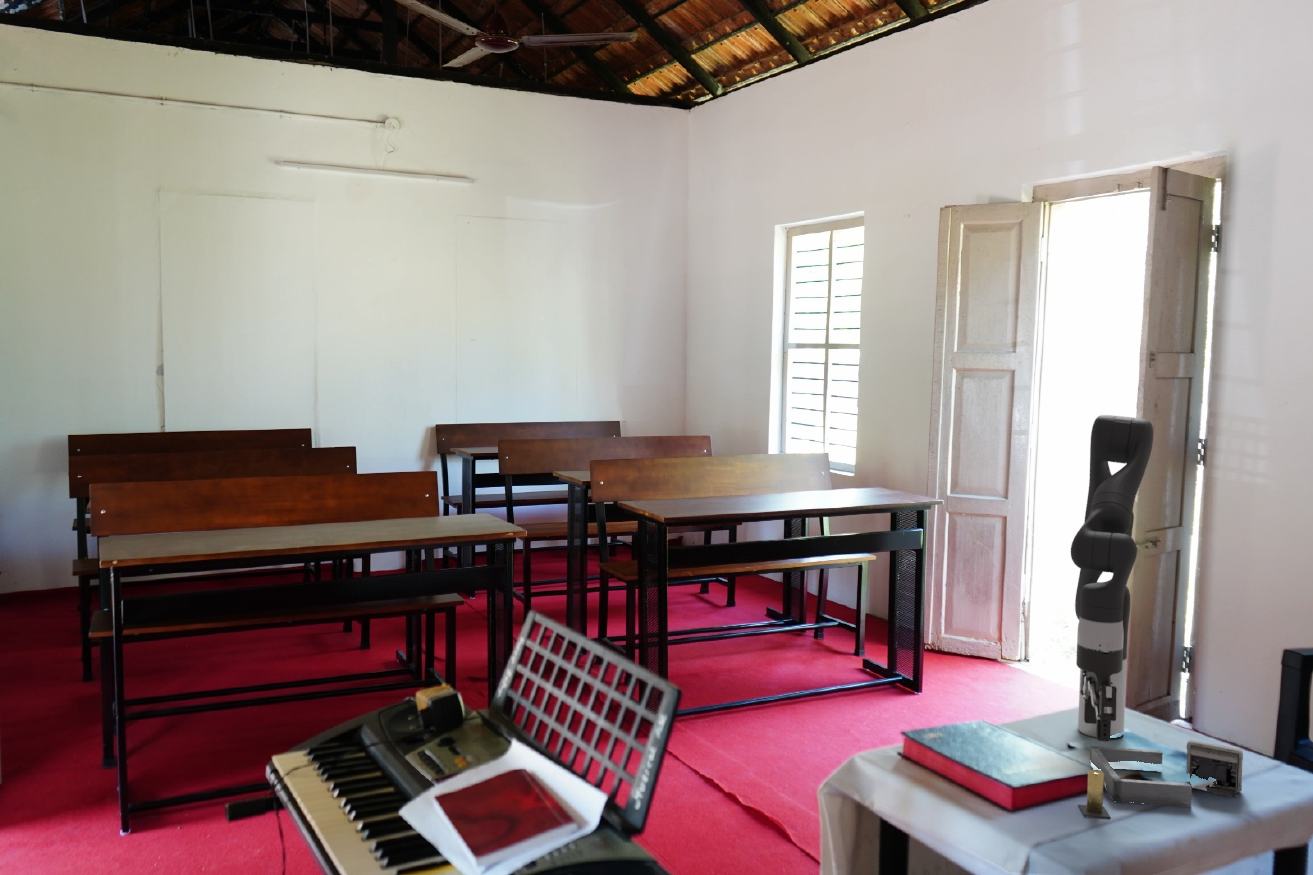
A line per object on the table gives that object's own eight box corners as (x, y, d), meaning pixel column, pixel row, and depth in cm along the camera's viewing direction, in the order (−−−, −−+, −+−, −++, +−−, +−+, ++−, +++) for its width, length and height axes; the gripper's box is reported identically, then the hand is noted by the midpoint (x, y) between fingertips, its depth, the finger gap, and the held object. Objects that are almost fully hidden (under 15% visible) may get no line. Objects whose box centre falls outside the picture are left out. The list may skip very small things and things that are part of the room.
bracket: (1089, 765, 203) (1090, 746, 202) (1159, 770, 200) (1160, 750, 200) (1114, 802, 185) (1114, 780, 185) (1190, 807, 183) (1191, 786, 183)
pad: (1078, 806, 184) (1078, 804, 184) (1103, 808, 183) (1103, 806, 183) (1084, 816, 179) (1084, 815, 179) (1110, 818, 178) (1110, 817, 178)
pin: (1085, 806, 183) (1086, 769, 182) (1100, 808, 182) (1101, 770, 182) (1088, 813, 180) (1090, 775, 180) (1104, 814, 180) (1105, 776, 179)
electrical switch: (1241, 791, 191) (1243, 745, 189) (1240, 804, 186) (1242, 757, 185) (1186, 780, 196) (1187, 735, 194) (1183, 792, 191) (1185, 746, 190)
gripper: (1068, 631, 186) (1065, 716, 188) (1087, 653, 172) (1084, 745, 174) (1111, 633, 185) (1107, 719, 186) (1134, 655, 171) (1130, 748, 172)
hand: (1096, 731), depth 180 cm, fingers open, 8 cm apart
